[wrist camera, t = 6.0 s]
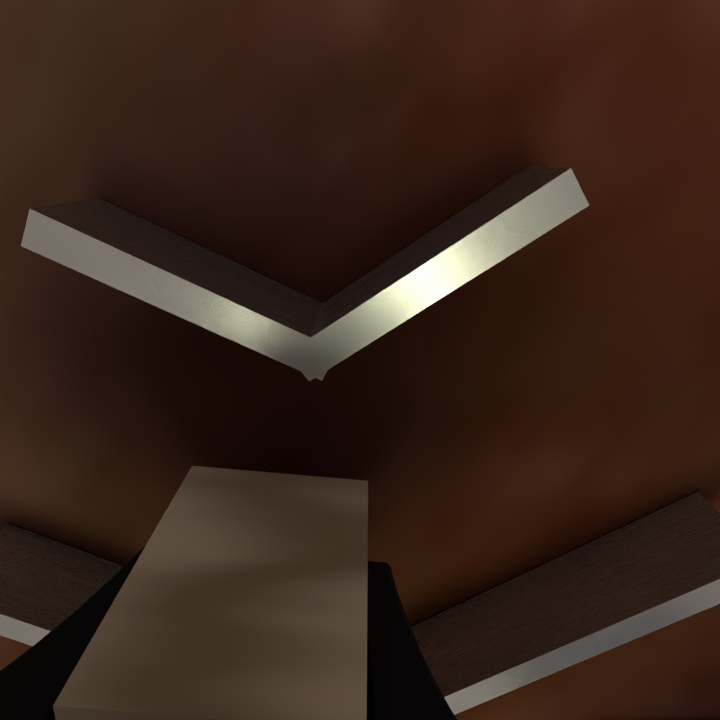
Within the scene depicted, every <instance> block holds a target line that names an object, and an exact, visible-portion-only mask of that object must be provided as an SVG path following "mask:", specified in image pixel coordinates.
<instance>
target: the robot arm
mask: <svg viewBox="0 0 720 720" xmlns="http://www.w3.org/2000/svg"><path fill="white" fill-rule="evenodd" d="M144 548H145V546H144V547H143V548H142V549H141V550H140V551H139V552H138V553H137V554H136V555H135V556H134V557H133V558H132V559H131V560H130V561H129V562H128V563H127V564H126V565H124V566H123V567H122V568H121V569H120V570H119V571H118V572H117V573H116V574H115V575H114V576H113V577H112V578H111V579H110V580H109V581H108V582H106V583H105V584H104V585H103V586H102V587H101V588H100V589H99V590H98V591H97V592H96V593H94V594H93V595H92V596H91V597H90V598H89V599H88V600H87V601H86V602H84V603H83V604H82V605H81V606H80V607H79V608H78V609H77V610H75V611H74V612H73V613H72V614H71V615H70V616H69V617H67V618H66V619H65V620H64V621H63V622H61V623H60V624H59V625H58V626H57V627H55V628H54V629H53V630H52V631H51V632H49V633H48V634H47V635H46V636H45V637H43V638H42V639H41V640H40V641H39V642H37V643H36V644H35V645H34V646H32V647H31V648H30V649H29V650H27V651H26V652H25V653H23V654H22V655H21V656H20V657H18V658H17V659H16V660H14V661H13V662H12V663H10V664H9V665H8V666H6V667H5V668H4V669H2V670H1V671H0V720H56V719H55V713H54V708H53V705H54V703H55V701H56V700H57V698H58V696H59V695H60V693H61V691H62V689H63V688H64V686H65V684H66V682H67V681H68V679H69V677H70V676H71V674H72V672H73V670H74V669H75V667H76V665H77V664H78V662H79V660H80V658H81V657H82V655H83V653H84V651H85V650H86V648H87V646H88V645H89V643H90V641H91V639H92V638H93V636H94V634H95V632H96V631H97V629H98V627H99V626H100V624H101V622H102V620H103V619H104V617H105V615H106V613H107V612H108V610H109V608H110V607H111V605H112V603H113V601H114V600H115V598H116V596H117V595H118V593H119V591H120V589H121V588H122V586H123V584H124V582H125V581H126V579H127V577H128V576H129V574H130V572H131V570H132V569H133V567H134V565H135V563H136V562H137V560H138V558H139V557H140V555H141V553H142V551H143V550H144ZM367 720H457V719H456V717H455V715H454V714H453V712H452V710H451V709H450V707H449V705H448V703H447V702H446V700H445V698H444V696H443V694H442V692H441V691H440V689H439V687H438V685H437V683H436V681H435V679H434V677H433V675H432V673H431V671H430V669H429V667H428V665H427V663H426V661H425V659H424V657H423V654H422V652H421V650H420V648H419V646H418V643H417V641H416V639H415V636H414V634H413V632H412V629H411V627H410V625H409V622H408V620H407V617H406V615H405V612H404V609H403V607H402V604H401V601H400V598H399V595H398V592H397V589H396V586H395V582H394V579H393V575H392V571H391V567H390V566H389V565H388V563H384V562H372V561H368V583H367Z"/></svg>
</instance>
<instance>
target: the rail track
mask: <svg viewBox="0 0 720 720" xmlns="http://www.w3.org/2000/svg"><path fill="white" fill-rule="evenodd" d="M588 206H589V204H588V202H587V200H586V198H585V196H584V194H583V192H582V190H581V187H580V185H579V183H578V181H577V179H576V177H575V175H574V173H573V171H572V169H571V168H555V167H532V166H527V167H526V168H524V169H523V170H521V171H520V172H518V173H517V174H515V175H514V176H512V177H511V178H509V179H508V180H506V181H505V182H503V183H502V184H500V185H499V186H497V187H496V188H494V189H493V190H491V191H490V192H488V193H487V194H485V195H484V196H482V197H481V198H479V199H478V200H476V201H475V202H473V203H472V204H470V205H469V206H467V207H466V208H464V209H463V210H461V211H460V212H458V213H457V214H455V215H454V216H452V217H451V218H449V219H448V220H446V221H445V222H443V223H442V224H440V225H439V226H437V227H436V228H434V229H433V230H431V231H430V232H428V233H427V234H425V235H424V236H422V237H421V238H419V239H418V240H416V241H415V242H413V243H412V244H410V245H409V246H407V247H406V248H404V249H403V250H401V251H400V252H398V253H397V254H395V255H394V256H392V257H391V258H389V259H388V260H386V261H385V262H383V263H382V264H380V265H379V266H377V267H376V268H374V269H373V270H371V271H370V272H368V273H367V274H365V275H364V276H362V277H361V278H359V279H358V280H356V281H355V282H353V283H352V284H350V285H349V286H347V287H346V288H344V289H343V290H341V291H340V292H338V293H337V294H335V295H334V296H332V297H331V298H329V299H328V300H326V301H325V302H323V303H321V302H319V301H317V300H315V299H313V298H311V297H308V296H306V295H304V294H302V293H300V292H298V291H296V290H294V289H291V288H289V287H287V286H285V285H283V284H281V283H279V282H277V281H274V280H272V279H270V278H268V277H266V276H264V275H262V274H260V273H258V272H255V271H253V270H251V269H249V268H247V267H245V266H243V265H241V264H238V263H236V262H234V261H232V260H230V259H228V258H226V257H224V256H221V255H219V254H217V253H215V252H213V251H211V250H209V249H207V248H204V247H202V246H200V245H198V244H196V243H194V242H192V241H190V240H188V239H185V238H183V237H181V236H179V235H177V234H175V233H173V232H171V231H168V230H166V229H164V228H162V227H160V226H158V225H156V224H154V223H151V222H149V221H147V220H145V219H143V218H141V217H139V216H137V215H135V214H132V213H130V212H128V211H126V210H124V209H122V208H120V207H118V206H115V205H113V204H111V203H109V202H107V201H105V200H103V199H101V198H100V199H93V200H86V201H79V202H72V203H65V204H58V205H51V206H45V207H38V208H31V209H29V214H28V218H27V222H26V226H25V231H24V235H23V239H22V243H21V246H22V247H24V248H26V249H29V250H31V251H33V252H35V253H38V254H40V255H42V256H44V257H47V258H49V259H51V260H53V261H56V262H58V263H60V264H62V265H64V266H67V267H69V268H71V269H73V270H76V271H78V272H80V273H82V274H85V275H87V276H89V277H91V278H94V279H96V280H98V281H100V282H102V283H105V284H107V285H109V286H111V287H114V288H116V289H118V290H120V291H123V292H125V293H127V294H129V295H132V296H134V297H136V298H138V299H140V300H143V301H145V302H147V303H149V304H152V305H154V306H156V307H158V308H161V309H163V310H165V311H167V312H169V313H172V314H174V315H176V316H178V317H181V318H183V319H185V320H187V321H190V322H192V323H194V324H196V325H199V326H201V327H203V328H205V329H207V330H210V331H212V332H214V333H216V334H219V335H221V336H223V337H225V338H228V339H230V340H232V341H234V342H237V343H239V344H241V345H243V346H245V347H248V348H250V349H252V350H254V351H257V352H259V353H261V354H263V355H266V356H268V357H270V358H272V359H275V360H277V361H279V362H281V363H283V364H286V365H288V366H290V367H292V368H295V369H297V370H299V371H301V372H302V373H303V374H304V376H305V377H306V378H307V380H308V381H311V380H312V379H314V378H317V379H319V380H321V381H322V380H323V378H324V376H325V374H326V372H327V370H328V369H330V368H331V367H333V366H335V365H336V364H338V363H339V362H341V361H343V360H344V359H346V358H347V357H349V356H351V355H352V354H354V353H355V352H357V351H358V350H360V349H362V348H363V347H365V346H366V345H368V344H370V343H371V342H373V341H374V340H376V339H378V338H379V337H381V336H382V335H384V334H386V333H387V332H389V331H390V330H392V329H393V328H395V327H397V326H398V325H400V324H401V323H403V322H405V321H406V320H408V319H409V318H411V317H413V316H414V315H416V314H417V313H419V312H421V311H422V310H424V309H425V308H427V307H428V306H430V305H432V304H433V303H435V302H436V301H438V300H440V299H441V298H443V297H444V296H446V295H448V294H449V293H451V292H452V291H454V290H456V289H457V288H459V287H460V286H462V285H463V284H465V283H467V282H468V281H470V280H471V279H473V278H475V277H476V276H478V275H479V274H481V273H483V272H484V271H486V270H487V269H489V268H491V267H492V266H494V265H495V264H497V263H498V262H500V261H502V260H503V259H505V258H506V257H508V256H510V255H511V254H513V253H514V252H516V251H518V250H519V249H521V248H522V247H524V246H526V245H527V244H529V243H530V242H532V241H533V240H535V239H537V238H538V237H540V236H541V235H543V234H545V233H546V232H548V231H549V230H551V229H553V228H554V227H556V226H557V225H559V224H561V223H562V222H564V221H565V220H567V219H568V218H570V217H572V216H573V215H575V214H576V213H578V212H580V211H581V210H583V209H584V208H586V207H588ZM122 567H123V566H122V565H120V564H117V563H114V562H111V561H109V560H106V559H103V558H101V557H98V556H95V555H92V554H90V553H87V552H84V551H82V550H79V549H76V548H73V547H71V546H68V545H65V544H63V543H60V542H57V541H54V540H52V539H49V538H46V537H43V536H41V535H38V534H35V533H33V532H30V531H27V530H24V529H22V528H19V527H16V526H14V525H11V524H8V525H7V526H6V527H5V528H4V529H3V530H2V531H1V532H0V635H1V636H4V637H7V638H10V639H13V640H16V641H19V642H22V643H25V644H28V645H31V646H34V645H35V644H36V643H37V642H39V641H40V640H41V639H42V638H43V637H45V636H46V635H47V634H48V633H49V632H51V631H52V630H53V629H54V628H55V627H57V626H58V625H59V624H60V623H61V622H63V621H64V620H65V619H66V618H67V617H69V616H70V615H71V614H72V613H73V612H74V611H75V610H77V609H78V608H79V607H80V606H81V605H82V604H83V603H84V602H86V601H87V600H88V599H89V598H90V597H91V596H92V595H93V594H94V593H96V592H97V591H98V590H99V589H100V588H101V587H102V586H103V585H104V584H105V583H106V582H108V581H109V580H110V579H111V578H112V577H113V576H114V575H115V574H116V573H117V572H118V571H119V570H120V569H121V568H122ZM718 604H720V513H719V512H718V511H717V510H716V509H715V508H714V507H713V506H712V505H711V504H710V503H709V502H708V501H707V500H706V499H705V498H704V497H703V496H702V495H701V494H700V493H699V492H696V493H694V494H691V495H689V496H687V497H685V498H683V499H681V500H679V501H677V502H674V503H672V504H670V505H668V506H666V507H664V508H662V509H660V510H658V511H655V512H653V513H651V514H649V515H647V516H645V517H643V518H641V519H638V520H636V521H634V522H632V523H630V524H628V525H626V526H624V527H621V528H619V529H617V530H615V531H613V532H611V533H609V534H607V535H605V536H602V537H600V538H598V539H596V540H594V541H592V542H590V543H588V544H585V545H583V546H581V547H579V548H577V549H575V550H573V551H571V552H569V553H566V554H564V555H562V556H560V557H558V558H556V559H554V560H552V561H549V562H547V563H545V564H543V565H541V566H539V567H537V568H535V569H533V570H530V571H528V572H526V573H524V574H522V575H520V576H518V577H516V578H513V579H511V580H509V581H507V582H505V583H503V584H501V585H499V586H497V587H494V588H492V589H490V590H488V591H486V592H484V593H482V594H480V595H477V596H475V597H473V598H471V599H469V600H467V601H465V602H463V603H460V604H458V605H456V606H454V607H452V608H450V609H448V610H446V611H444V612H441V613H439V614H437V615H435V616H433V617H431V618H429V619H427V620H424V621H422V622H420V623H418V624H416V625H414V626H412V627H411V629H412V632H413V634H414V636H415V639H416V641H417V643H418V646H419V648H420V650H421V652H422V654H423V657H424V659H425V661H426V663H427V665H428V667H429V669H430V671H431V673H432V675H433V677H434V679H435V681H436V683H437V685H438V687H439V689H440V691H441V692H442V694H443V696H444V698H445V700H446V702H447V703H448V705H449V707H450V709H451V710H452V712H453V714H454V715H455V714H457V713H460V712H462V711H464V710H467V709H469V708H472V707H474V706H476V705H479V704H481V703H483V702H486V701H488V700H491V699H493V698H495V697H498V696H500V695H503V694H505V693H507V692H510V691H512V690H515V689H517V688H519V687H522V686H524V685H527V684H529V683H531V682H534V681H536V680H538V679H541V678H543V677H546V676H548V675H550V674H553V673H555V672H558V671H560V670H562V669H565V668H567V667H570V666H572V665H574V664H577V663H579V662H581V661H584V660H586V659H589V658H591V657H593V656H596V655H598V654H601V653H603V652H605V651H608V650H610V649H613V648H615V647H617V646H620V645H622V644H625V643H627V642H629V641H632V640H634V639H636V638H639V637H641V636H644V635H646V634H648V633H651V632H653V631H656V630H658V629H660V628H663V627H665V626H668V625H670V624H672V623H675V622H677V621H679V620H682V619H684V618H687V617H689V616H691V615H694V614H696V613H699V612H701V611H703V610H706V609H708V608H711V607H713V606H715V605H718Z"/></svg>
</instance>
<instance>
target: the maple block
mask: <svg viewBox="0 0 720 720" xmlns="http://www.w3.org/2000/svg"><path fill="white" fill-rule="evenodd" d="M367 583H368V481H365V480H354V479H342V478H330V477H318V476H307V475H295V474H283V473H271V472H260V471H248V470H236V469H224V468H213V467H201V466H192V467H191V469H190V470H189V472H188V474H187V475H186V477H185V479H184V481H183V482H182V484H181V486H180V488H179V489H178V491H177V493H176V494H175V496H174V498H173V500H172V501H171V503H170V505H169V507H168V508H167V510H166V512H165V513H164V515H163V517H162V519H161V520H160V522H159V524H158V526H157V527H156V529H155V531H154V532H153V534H152V536H151V538H150V539H149V541H148V543H147V544H146V546H145V548H144V550H143V551H142V553H141V555H140V557H139V558H138V560H137V562H136V563H135V565H134V567H133V569H132V570H131V572H130V574H129V576H128V577H127V579H126V581H125V582H124V584H123V586H122V588H121V589H120V591H119V593H118V595H117V596H116V598H115V600H114V601H113V603H112V605H111V607H110V608H109V610H108V612H107V613H106V615H105V617H104V619H103V620H102V622H101V624H100V626H99V627H98V629H97V631H96V632H95V634H94V636H93V638H92V639H91V641H90V643H89V645H88V646H87V648H86V650H85V651H84V653H83V655H82V657H81V658H80V660H79V662H78V664H77V665H76V667H75V669H74V670H73V672H72V674H71V676H70V677H69V679H68V681H67V682H66V684H65V686H64V688H63V689H62V691H61V693H60V695H59V696H58V698H57V700H56V701H55V703H54V705H53V708H54V713H55V719H56V720H367Z"/></svg>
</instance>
